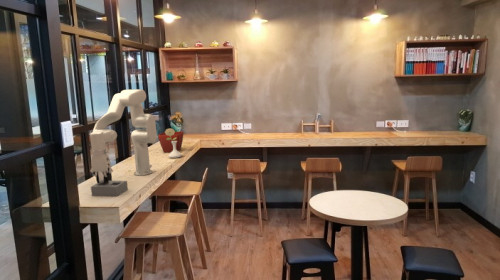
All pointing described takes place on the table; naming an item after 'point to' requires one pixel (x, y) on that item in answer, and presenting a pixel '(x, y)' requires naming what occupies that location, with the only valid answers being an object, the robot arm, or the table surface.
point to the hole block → (109, 188)
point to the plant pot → (167, 144)
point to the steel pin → (101, 178)
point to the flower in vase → (174, 153)
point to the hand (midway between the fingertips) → (102, 182)
